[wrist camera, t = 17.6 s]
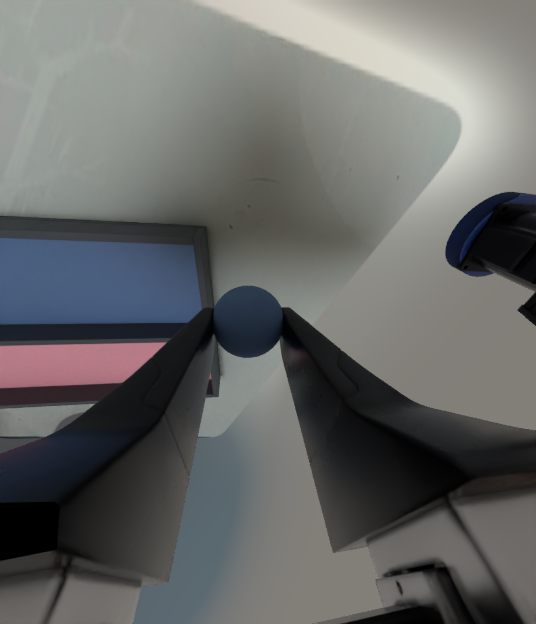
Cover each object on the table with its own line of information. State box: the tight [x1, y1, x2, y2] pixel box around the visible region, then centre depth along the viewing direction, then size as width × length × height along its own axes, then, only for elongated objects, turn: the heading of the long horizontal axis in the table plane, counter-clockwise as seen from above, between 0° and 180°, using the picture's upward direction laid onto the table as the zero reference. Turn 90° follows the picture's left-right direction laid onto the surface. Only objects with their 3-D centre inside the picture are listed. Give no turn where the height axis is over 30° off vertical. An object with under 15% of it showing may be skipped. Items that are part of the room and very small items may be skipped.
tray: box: [0, 216, 220, 409], centre depth 20 cm, size 32×20×3 cm, turn 86°
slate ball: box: [213, 286, 283, 358], centre depth 9 cm, size 3×3×3 cm
